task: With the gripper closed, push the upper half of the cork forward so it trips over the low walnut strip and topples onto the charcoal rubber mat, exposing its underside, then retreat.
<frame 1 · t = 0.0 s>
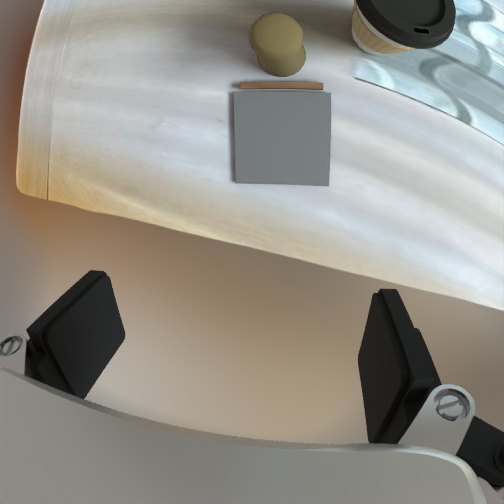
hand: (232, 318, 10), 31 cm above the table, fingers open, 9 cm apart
charcoal mat: (282, 137, 37), on the table
coffee cup: (374, 34, 29), on the table
cork: (281, 55, 32), on the table
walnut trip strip: (282, 85, 34), on the table
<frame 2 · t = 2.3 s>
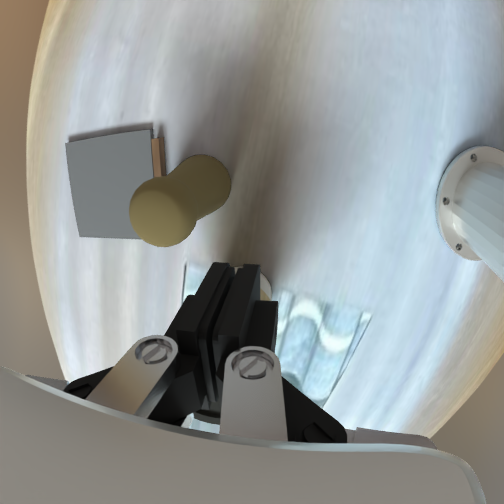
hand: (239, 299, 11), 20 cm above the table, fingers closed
charcoal mat: (111, 187, 31), on the table
coffee cup: (244, 290, 34), on the table
cork: (202, 183, 30), on the table
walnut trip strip: (163, 184, 30), on the table
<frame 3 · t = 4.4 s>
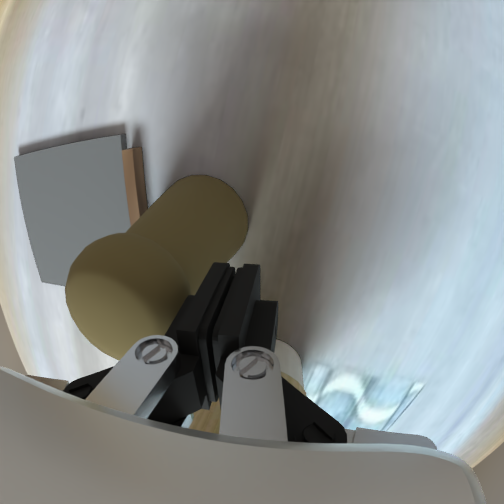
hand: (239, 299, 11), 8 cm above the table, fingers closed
charcoal mat: (73, 219, 21), on the table
coffee cup: (263, 362, 24), on the table
cork: (202, 220, 20), on the table, touching gripper
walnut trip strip: (144, 220, 20), on the table
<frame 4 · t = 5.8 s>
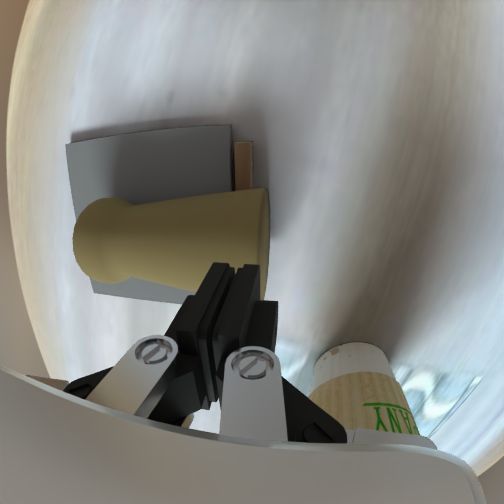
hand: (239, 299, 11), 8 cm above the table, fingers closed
charcoal mat: (147, 221, 20), on the table
coffee cup: (350, 368, 23), on the table
cork: (268, 246, 16), point 3 cm above the table, touching charcoal mat
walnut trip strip: (247, 223, 19), on the table
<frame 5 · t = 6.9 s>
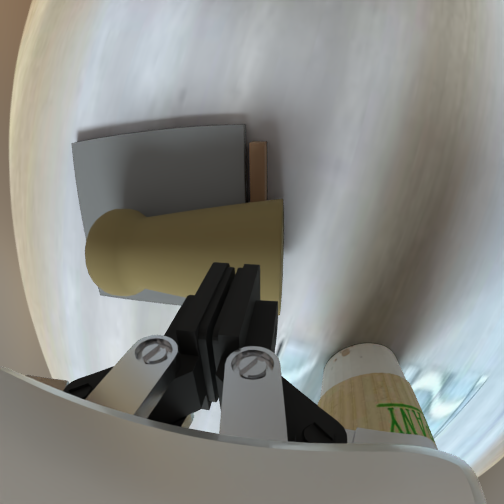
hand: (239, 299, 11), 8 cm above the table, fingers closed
charcoal mat: (157, 222, 19), on the table
coffee cup: (360, 369, 23), on the table
cork: (285, 257, 16), point 3 cm above the table, touching charcoal mat, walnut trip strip
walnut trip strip: (260, 224, 19), on the table
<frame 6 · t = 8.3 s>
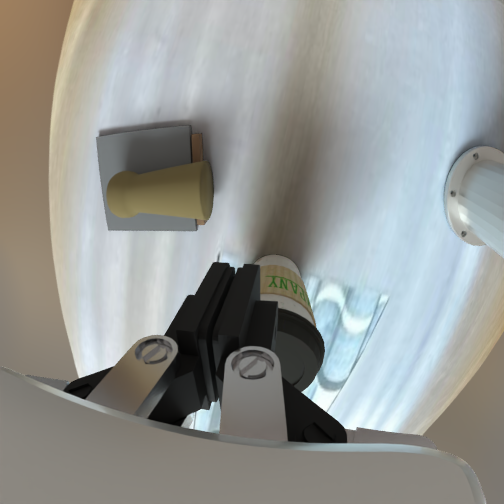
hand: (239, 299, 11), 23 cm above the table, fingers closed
charcoal mat: (145, 180, 33), on the table
coffee cup: (274, 277, 37), on the table
cork: (209, 190, 30), point 3 cm above the table, touching charcoal mat, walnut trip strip
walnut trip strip: (200, 178, 33), on the table
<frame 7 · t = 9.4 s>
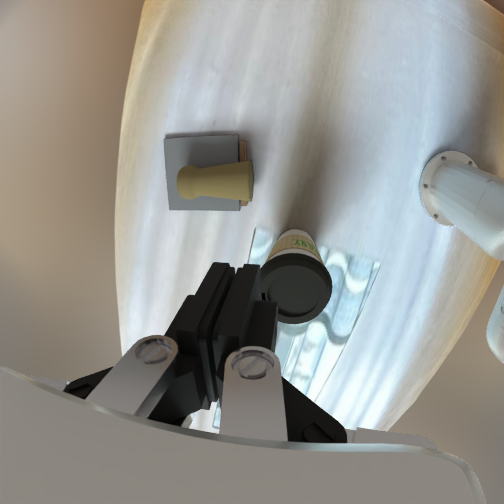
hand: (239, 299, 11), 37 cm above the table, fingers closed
charcoal mat: (202, 173, 47), on the table
coffee cup: (295, 246, 50), on the table
cork: (252, 181, 44), point 3 cm above the table, touching charcoal mat, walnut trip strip
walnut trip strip: (244, 173, 46), on the table
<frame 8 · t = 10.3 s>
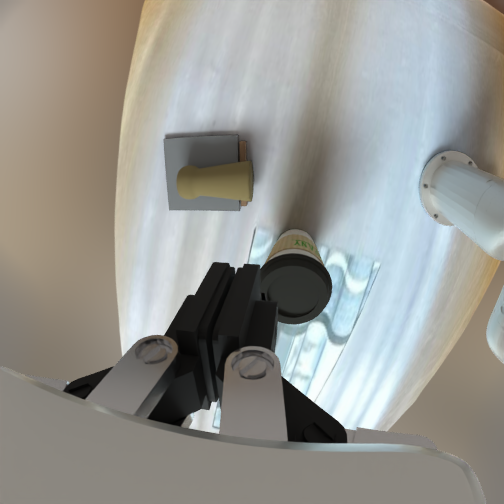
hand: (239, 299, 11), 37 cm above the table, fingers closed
charcoal mat: (201, 173, 47), on the table
coffee cup: (295, 246, 50), on the table
cork: (252, 181, 44), point 3 cm above the table, touching charcoal mat, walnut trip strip
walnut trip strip: (244, 173, 46), on the table
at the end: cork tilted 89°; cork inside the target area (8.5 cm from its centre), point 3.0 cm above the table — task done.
